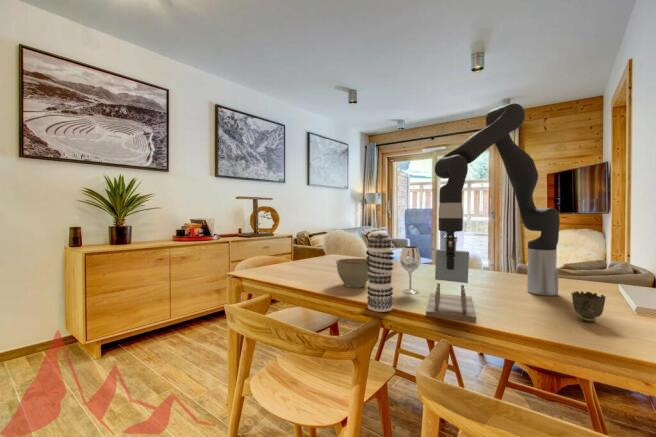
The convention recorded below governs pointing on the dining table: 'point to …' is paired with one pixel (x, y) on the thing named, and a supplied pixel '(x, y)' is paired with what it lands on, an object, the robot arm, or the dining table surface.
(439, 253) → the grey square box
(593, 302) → the cup
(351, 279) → the planter bowl
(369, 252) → the decorative candle
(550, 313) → the dining table surface
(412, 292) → the wineglass
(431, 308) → the dish rack
